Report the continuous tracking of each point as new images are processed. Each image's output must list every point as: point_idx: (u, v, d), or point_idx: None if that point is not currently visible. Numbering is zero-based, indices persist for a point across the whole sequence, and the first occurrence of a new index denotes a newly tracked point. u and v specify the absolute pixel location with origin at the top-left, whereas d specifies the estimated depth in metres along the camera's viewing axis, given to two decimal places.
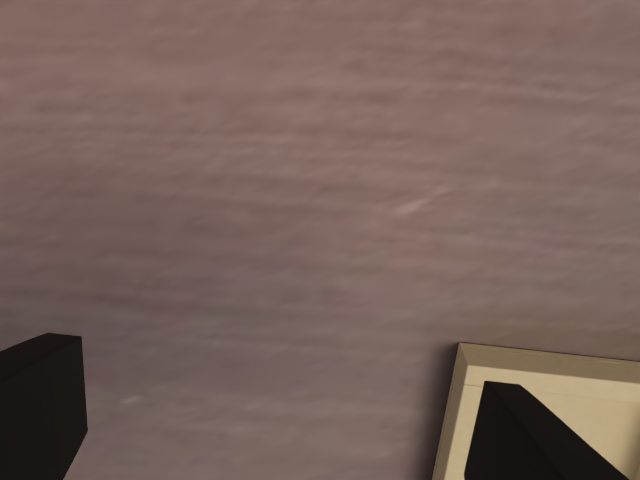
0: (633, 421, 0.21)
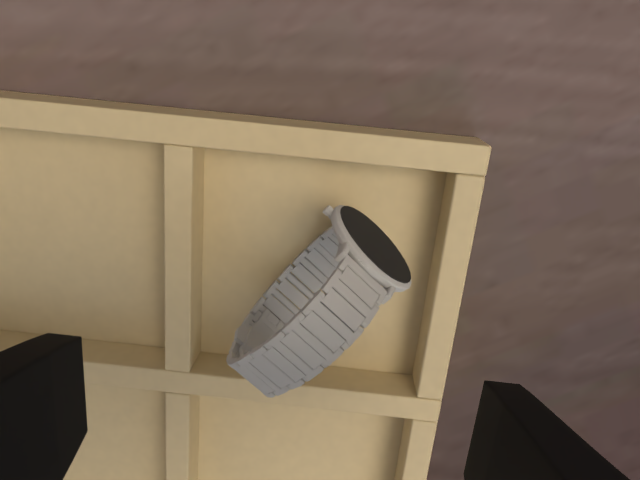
0: (153, 189, 0.16)
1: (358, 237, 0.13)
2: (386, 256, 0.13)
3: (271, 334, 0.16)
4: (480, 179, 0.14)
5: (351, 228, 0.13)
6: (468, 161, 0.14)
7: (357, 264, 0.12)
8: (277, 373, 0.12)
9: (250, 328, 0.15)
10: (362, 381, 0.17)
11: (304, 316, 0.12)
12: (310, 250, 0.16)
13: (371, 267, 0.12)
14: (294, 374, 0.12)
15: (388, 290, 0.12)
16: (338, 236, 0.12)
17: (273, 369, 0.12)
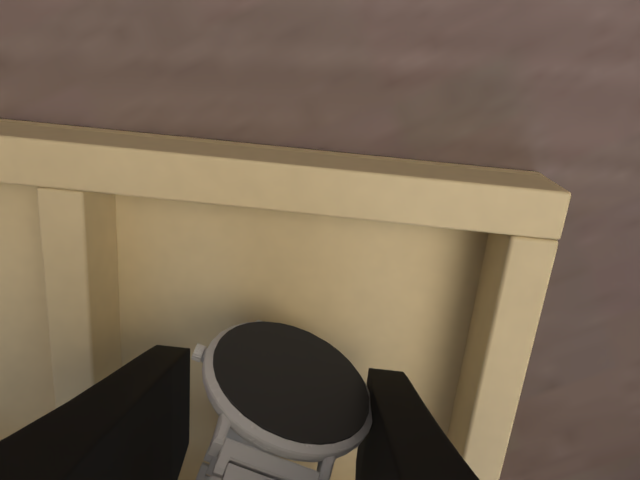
0: (42, 248, 0.11)
1: (246, 392, 0.07)
2: (316, 392, 0.08)
3: None
4: (551, 245, 0.09)
5: (232, 379, 0.07)
6: (532, 217, 0.08)
7: (248, 449, 0.07)
8: None
9: None
10: None
11: None
12: None
13: (274, 446, 0.07)
14: None
15: (321, 468, 0.07)
16: (212, 403, 0.07)
17: None
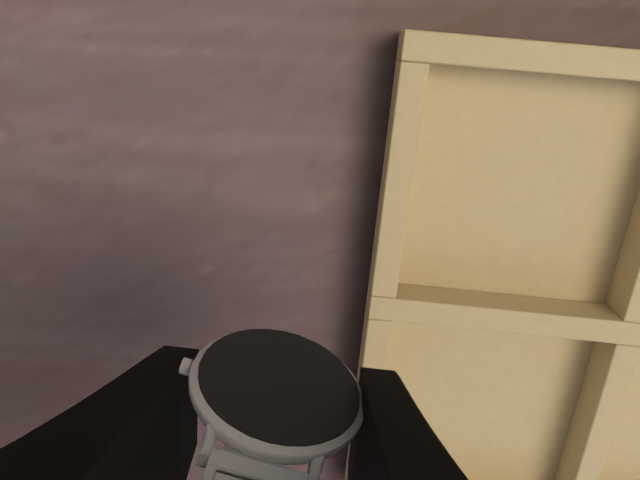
0: (626, 138, 0.16)
1: (231, 400, 0.07)
2: (304, 394, 0.08)
3: None
4: None
5: (217, 389, 0.08)
6: None
7: (235, 457, 0.07)
8: None
9: None
10: None
11: None
12: None
13: (260, 451, 0.07)
14: None
15: (310, 470, 0.07)
16: (198, 415, 0.07)
17: None
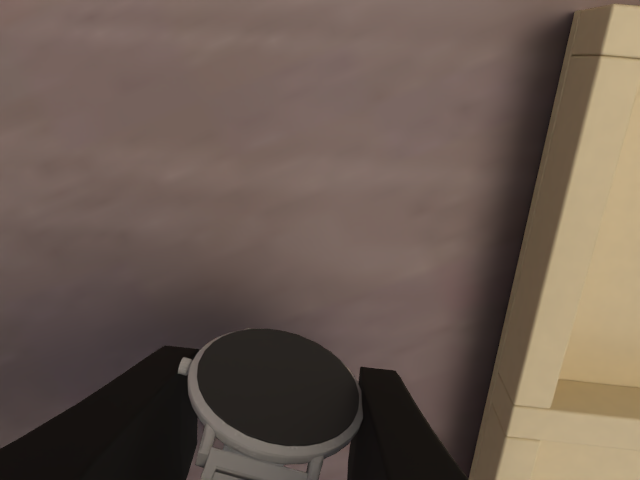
0: None
1: (230, 400, 0.07)
2: (303, 394, 0.08)
3: None
4: None
5: (216, 388, 0.08)
6: None
7: (234, 457, 0.07)
8: None
9: None
10: None
11: None
12: None
13: (259, 451, 0.07)
14: None
15: (309, 469, 0.07)
16: (197, 414, 0.07)
17: None
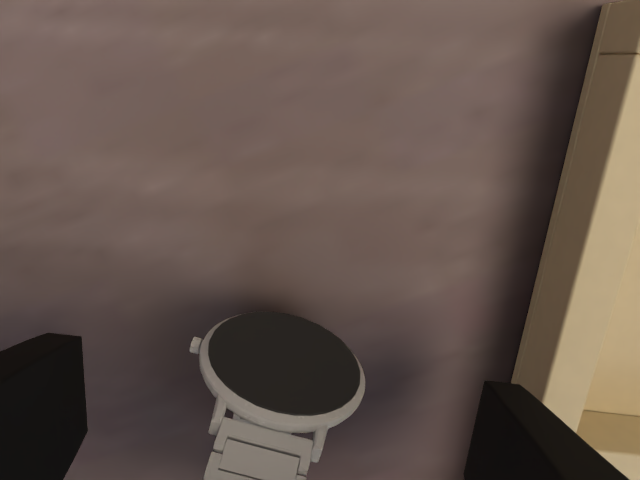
0: None
1: (240, 374, 0.08)
2: (308, 370, 0.08)
3: None
4: None
5: (226, 364, 0.08)
6: None
7: (244, 425, 0.07)
8: None
9: None
10: None
11: None
12: None
13: (268, 419, 0.07)
14: None
15: (315, 437, 0.08)
16: (209, 388, 0.08)
17: None
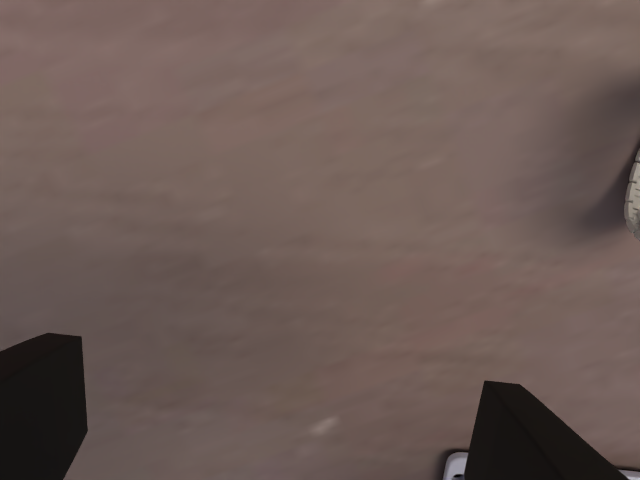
0: None
1: None
2: None
3: None
4: None
5: None
6: None
7: None
8: None
9: None
10: None
11: None
12: None
13: None
14: None
15: None
16: None
17: None
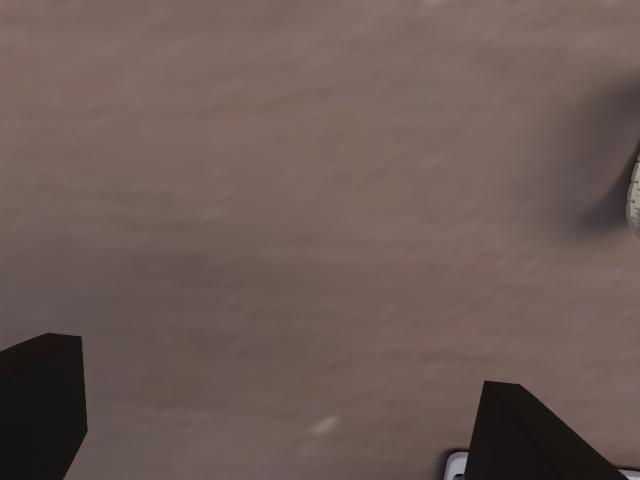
0: None
1: None
2: None
3: None
4: None
5: None
6: None
7: None
8: None
9: None
10: None
11: None
12: None
13: None
14: None
15: None
16: None
17: None
